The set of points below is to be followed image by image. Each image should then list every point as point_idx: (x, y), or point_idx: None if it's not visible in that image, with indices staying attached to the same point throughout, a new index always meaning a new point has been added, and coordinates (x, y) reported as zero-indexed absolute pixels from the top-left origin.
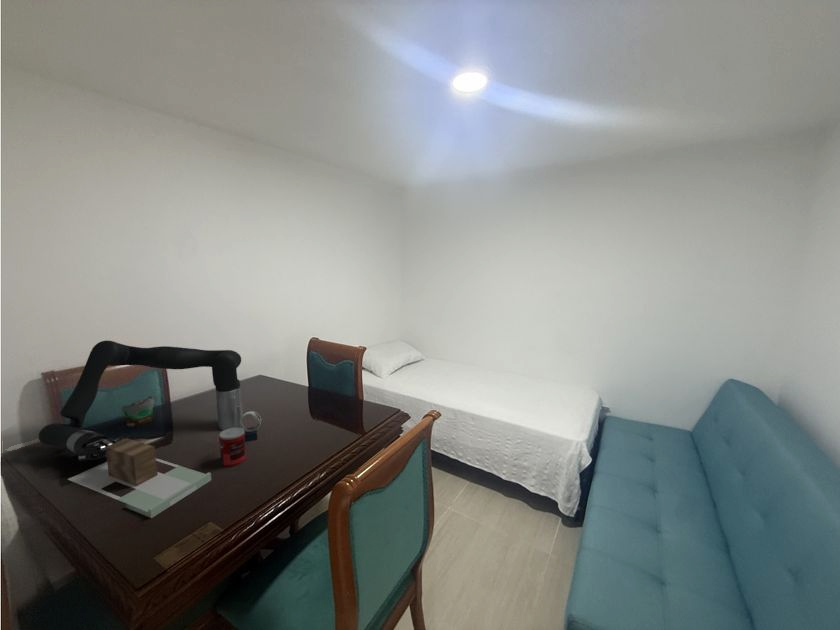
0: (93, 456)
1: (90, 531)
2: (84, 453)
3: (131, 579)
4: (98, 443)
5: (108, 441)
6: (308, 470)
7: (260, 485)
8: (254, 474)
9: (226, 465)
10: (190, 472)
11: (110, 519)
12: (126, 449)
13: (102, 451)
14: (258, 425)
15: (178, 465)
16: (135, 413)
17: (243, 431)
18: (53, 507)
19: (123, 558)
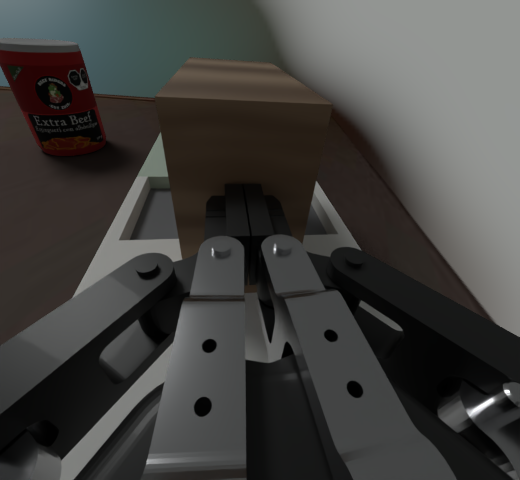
0: (385, 350)
1: (364, 170)
2: (513, 336)
3: (332, 119)
4: (352, 465)
5: (169, 402)
6: (104, 98)
7: (156, 111)
8: (128, 119)
9: (105, 140)
10: (162, 149)
11: (332, 170)
12: (260, 72)
13: (319, 266)
14: None
15: (136, 178)
16: None
17: (30, 39)
18: (472, 293)
19: (333, 130)
